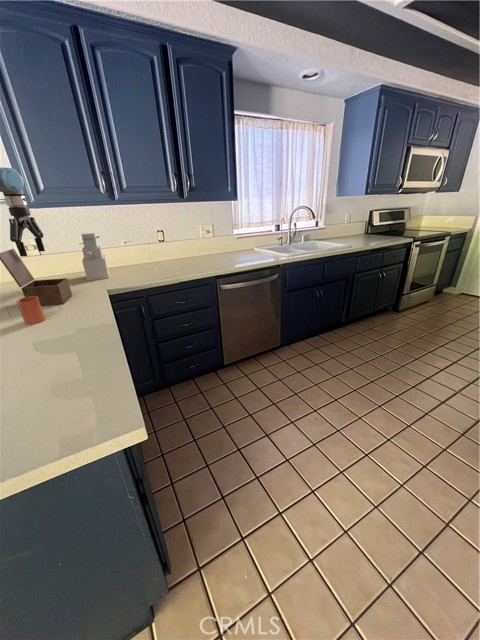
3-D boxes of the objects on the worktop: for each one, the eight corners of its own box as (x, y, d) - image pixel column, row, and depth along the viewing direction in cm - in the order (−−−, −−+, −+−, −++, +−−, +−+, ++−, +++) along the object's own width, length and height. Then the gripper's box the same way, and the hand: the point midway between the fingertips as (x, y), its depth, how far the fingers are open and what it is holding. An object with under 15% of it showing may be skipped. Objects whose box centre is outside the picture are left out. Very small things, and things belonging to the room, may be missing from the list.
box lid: (13, 248, 129) (12, 249, 129) (-2, 253, 117) (-4, 254, 117) (34, 279, 137) (33, 279, 137) (21, 286, 125) (19, 287, 125)
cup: (23, 326, 110) (14, 303, 106) (26, 319, 116) (18, 298, 112) (44, 322, 113) (36, 300, 109) (46, 316, 119) (39, 295, 115)
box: (72, 295, 145) (67, 278, 140) (63, 304, 133) (57, 285, 128) (40, 298, 141) (34, 280, 137) (28, 307, 129) (21, 288, 125)
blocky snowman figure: (109, 271, 191) (100, 231, 180) (108, 280, 172) (98, 235, 160) (89, 273, 187) (78, 232, 175) (86, 282, 167) (74, 236, 155)
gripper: (6, 207, 110) (24, 258, 119) (43, 206, 133) (55, 249, 141) (-13, 207, 109) (6, 258, 118) (27, 206, 132) (41, 249, 141)
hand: (33, 253), depth 130 cm, fingers open, 13 cm apart
